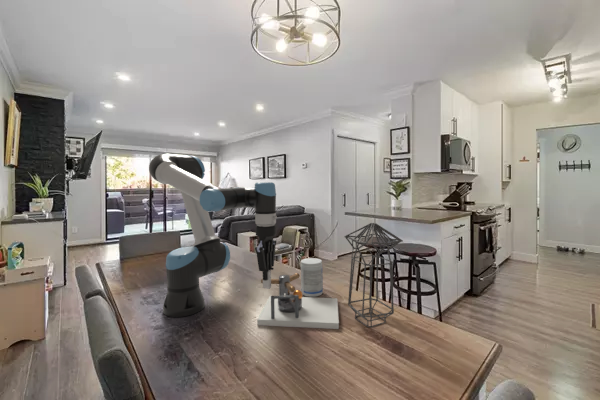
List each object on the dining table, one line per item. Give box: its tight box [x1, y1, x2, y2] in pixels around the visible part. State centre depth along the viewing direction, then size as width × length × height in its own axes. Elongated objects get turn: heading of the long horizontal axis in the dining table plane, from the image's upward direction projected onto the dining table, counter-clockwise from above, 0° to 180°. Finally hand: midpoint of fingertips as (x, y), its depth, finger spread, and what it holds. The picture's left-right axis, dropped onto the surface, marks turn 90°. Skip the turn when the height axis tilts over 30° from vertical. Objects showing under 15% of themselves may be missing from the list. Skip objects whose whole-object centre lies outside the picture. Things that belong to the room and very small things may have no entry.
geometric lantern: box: [343, 222, 404, 328], centre depth 101 cm, size 16×16×35 cm
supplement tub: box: [300, 257, 324, 298], centre depth 125 cm, size 10×10×15 cm
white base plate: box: [256, 293, 340, 330], centre depth 106 cm, size 28×20×10 cm
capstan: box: [260, 272, 303, 313], centre depth 107 cm, size 16×16×12 cm
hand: (266, 287), depth 105 cm, fingers closed
